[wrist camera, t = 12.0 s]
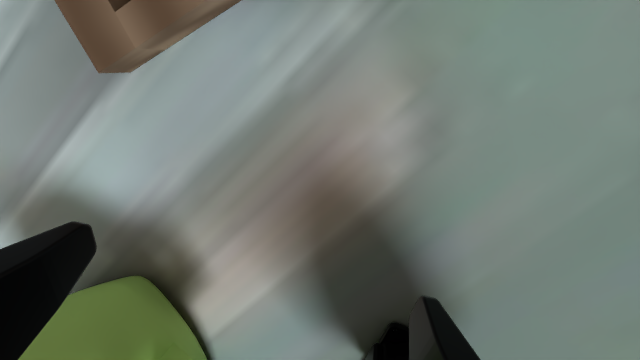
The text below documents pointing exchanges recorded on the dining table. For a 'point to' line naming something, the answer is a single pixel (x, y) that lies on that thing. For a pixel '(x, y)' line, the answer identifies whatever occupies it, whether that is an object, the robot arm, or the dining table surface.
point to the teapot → (116, 326)
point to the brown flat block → (135, 27)
